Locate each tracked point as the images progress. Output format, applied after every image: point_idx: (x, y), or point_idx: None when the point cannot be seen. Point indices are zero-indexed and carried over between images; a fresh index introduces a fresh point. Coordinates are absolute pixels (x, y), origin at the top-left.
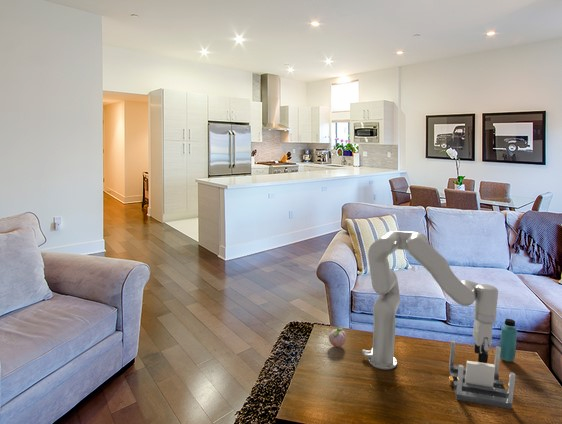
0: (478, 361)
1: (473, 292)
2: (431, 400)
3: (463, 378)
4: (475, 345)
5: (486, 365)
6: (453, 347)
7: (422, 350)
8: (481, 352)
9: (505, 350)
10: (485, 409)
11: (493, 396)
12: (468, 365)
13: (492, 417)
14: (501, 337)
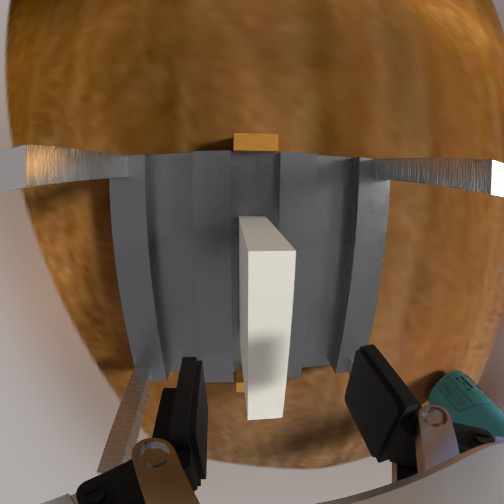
0: (182, 358)
1: None
2: (91, 59)
3: (279, 212)
4: (397, 396)
5: (254, 382)
6: (457, 175)
7: (472, 91)
8: (134, 461)
9: (453, 406)
10: (97, 274)
11: (155, 328)
12: (246, 253)
13: (64, 288)
14: (492, 415)
